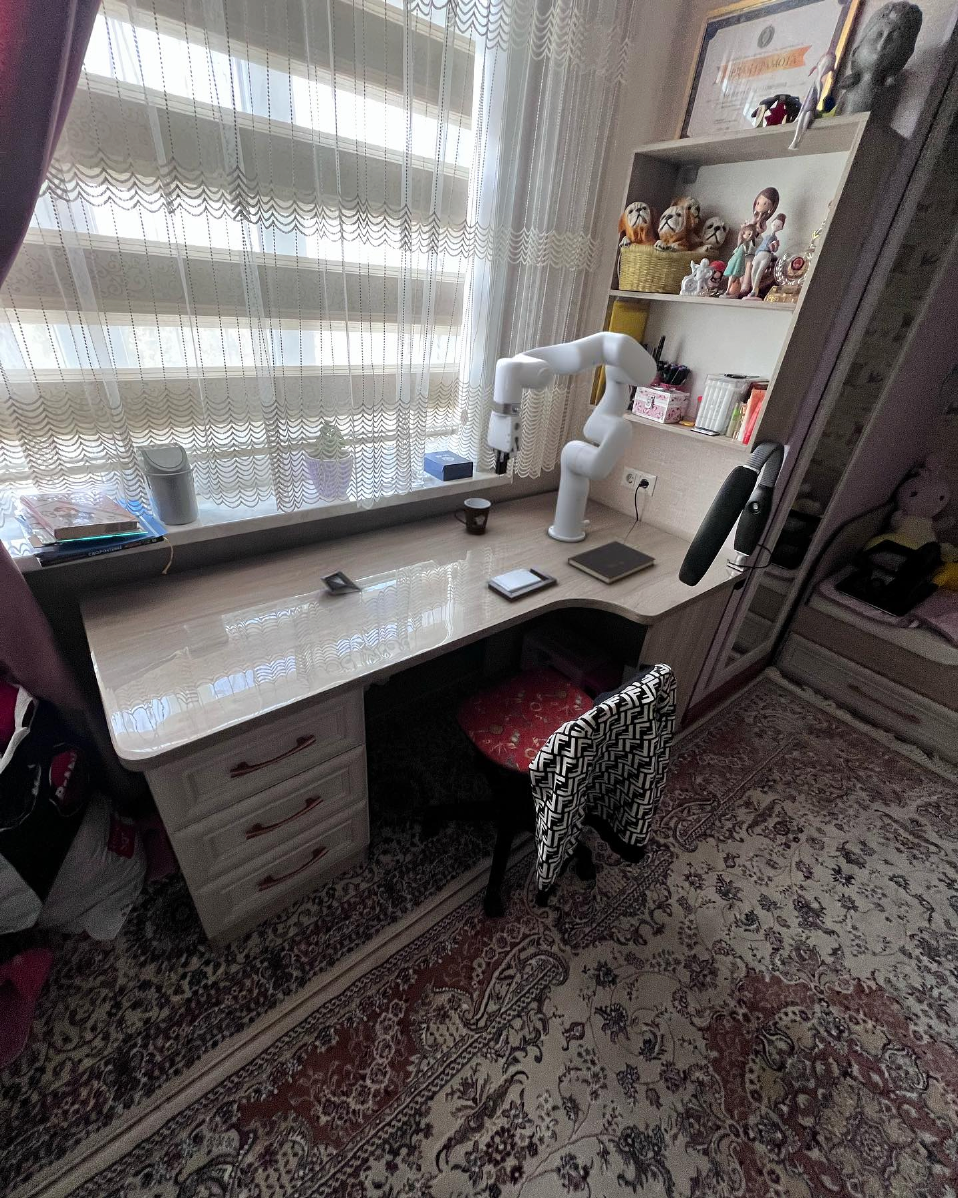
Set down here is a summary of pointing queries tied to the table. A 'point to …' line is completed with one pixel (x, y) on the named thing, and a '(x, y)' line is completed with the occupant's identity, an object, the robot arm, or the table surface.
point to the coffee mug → (475, 515)
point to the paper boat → (339, 583)
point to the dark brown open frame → (527, 591)
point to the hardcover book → (611, 562)
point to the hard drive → (516, 580)
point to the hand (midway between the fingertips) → (500, 473)
